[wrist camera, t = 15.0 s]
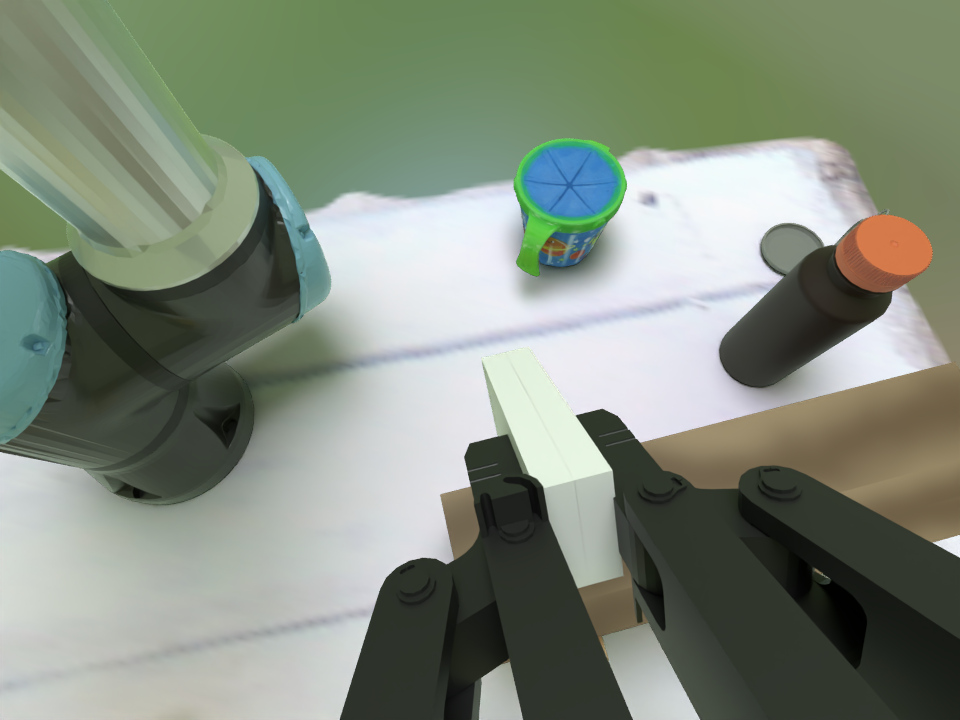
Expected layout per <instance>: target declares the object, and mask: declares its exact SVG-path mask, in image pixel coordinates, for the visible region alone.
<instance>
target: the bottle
mask: <svg viewBox="0 0 960 720" xmlns="http://www.w3.org/2000/svg"><path fill="white" fill-rule="evenodd" d="M932 252H933V251H932V248H931V245H930V242H929V240H928V238H927V237H926V235H925V234H924V233H923V232H922V230H920V229H919V228H918V227H917V226H916V225H914V224H913V223H911V222H909V221H907V220H905V219H903V218H899V217H896V216H892V215H882V214H881V215H878V216H876V215H875V216H872V217H869V218H867V219H864V220H863V221H862V222H861V223H860V224H858V225H857V226H856V227H855V228H854V229H853V230H852V231H851V232H850V233H849V234H847V235H846V236H845V237H844V238H843V239H842V240H841V241H840V243H839V244H838V245H830V246H826V247H822V248H818V249H816V250H814V251H813V252H811V253H810V254H808V255H806V256H805V257H804V258H803V259H802V260H801V261H800V262H799V263H798V264H797V265H796V266H795V267H794V268H793V269H792V270H791V271H790V272H789V273H788V274H787V275H786V276H785V277H784V278H783V279H782V280H780V281H779V282H778V283H777V284H776V285H775V286H774V287H773V288H772V289H771V290H770V291H769V292H768V293H767V294H766V295H765V296H764V297H763V298H762V299H761V300H760V301H759V302H758V303H757V304H756V305H755V306H754V307H753V308H752V309H751V310H750V311H749V312H748V313H747V314H746V315H745V316H744V317H743V318H742V319H741V320H740V321H739V322H738V323H737V324H736V325H735V326H734V327H733V328H731V329H730V330H729V331H728V332H727V334H726V335H725V337H724V338H723V339H722V342H721V346H720V357H721V361H722V363H723V365H724V367H725V369H726V370H727V371H728V372H729V373H730V375H731V376H732V377H734V378H735V379H737V380H738V381H740V382H741V383H744V384H747V385H750V386H758V387H764V386H768V385H772V384H775V383H776V382H778V381H780V380H781V379H783V378H784V377H786V376H787V375H789V374H791V373H792V372H794V371H795V370H797V369H799V368H800V367H802V366H803V365H805V364H806V363H808V362H810V361H811V360H813V359H814V358H816V357H818V356H819V355H821V354H822V353H824V352H825V351H827V350H829V349H830V348H832V347H833V346H835V345H837V344H838V343H840V342H841V341H843V340H844V339H846V338H848V337H849V336H851V335H852V334H854V333H856V332H857V331H859V330H860V329H862V328H863V327H865V326H867V325H868V324H870V323H871V322H873V321H874V320H876V319H877V318H879V317H880V316H881V315H883V314H884V313H885V311H886V310H887V308H888V306H889V305H890V303H891V299H892V291H894V290H896V289H898V288H899V287H901V286H902V285H904V284H905V283H907V282H909V281H910V280H912V279H913V278H915V277H916V276H918V275H919V274H921V273H922V272H923V271H925V270H926V269H927V267H929V265H930V263H931V260H932V259H931V258H932V255H933V254H932Z"/></svg>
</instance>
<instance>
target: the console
mask: <svg viewBox="0 0 960 720" xmlns="http://www.w3.org/2000/svg"><path fill="white" fill-rule="evenodd" d="M641 445H642V446H643V447H644V448H645V449H646V451H647V452H648V453H649V454H650V455H651V457H652V458H653V459H654V460H655V461H656V463H657V464H658V465H659V466H660V467H661V469H662V470H663V471H670V472H673V473H675V474H678V475H681V476H683V477H684V478H685V479H686V480H688V481H689V482H690V483H691V484H692V485H693V486H694V487H695V488H700V489H737V488H738V484H739V480H740V477H741V475H742V474H744V473H745V472H746V471H747V470H749V469H752V468H755V467H759V466H772V465H776V466H782V467H787V468H792V469H794V470H797V471H799V472H802V473H804V474H806V475H808V476H810V477H812V478H814V479H816V480H818V481H819V482H821V483H823V484H825V485H827V486H829V487H830V488H832V489H834V490H836V491H838V492H840V493H841V494H843V495H845V496H847V497H849V498H851V499H852V500H854V501H856V502H858V503H860V504H862V505H864V506H865V507H867V508H869V509H871V510H873V511H875V512H876V513H878V514H880V515H882V516H884V517H886V518H887V519H889V520H891V521H893V522H895V523H897V524H898V525H900V526H902V527H904V528H906V529H908V530H910V531H911V532H913V533H915V534H917V535H919V536H921V537H922V538H924V539H926V540H928V541H930V542H936V541H940V540H943V539H947V538H950V537H954V536H957V535H960V369H959V367H958V366H957V364H956V363H955V362H952V363H948V364H945V365H941V366H937V367H933V368H929V369H925V370H921V371H917V372H914V373H910V374H906V375H902V376H898V377H894V378H890V379H886V380H882V381H879V382H875V383H871V384H867V385H863V386H859V387H855V388H851V389H848V390H844V391H840V392H836V393H832V394H828V395H824V396H820V397H817V398H813V399H809V400H805V401H801V402H797V403H793V404H789V405H786V406H782V407H778V408H774V409H770V410H766V411H762V412H758V413H755V414H751V415H747V416H743V417H739V418H735V419H731V420H727V421H723V422H720V423H716V424H712V425H708V426H704V427H700V428H696V429H692V430H689V431H685V432H681V433H677V434H673V435H669V436H665V437H661V438H658V439H654V440H650V441H646V442H642V443H641ZM440 496H441V500H442V505H443V510H444V514H445V519H446V524H447V528H448V533H449V538H450V542H451V547H452V552H453V556H454V560H456V559H457V558H459V557H460V556H462V555H463V554H465V553H466V552H467V551H468V550H469V549H470V548H471V547H472V546H473V544H474V543H475V541H476V539H477V537H478V534H479V524H478V520H477V516H476V512H475V508H474V498H473V493H472V489H471V487H468V488H464V489H460V490H456V491H452V492H448V493H444V494H440ZM622 565H623V575H624V576H621V577H617V578H613V579H610V580H606V581H602V582H599V583H595V584H592V585H588V586H584V587H581V588H578V590H579V593H580V595H581V597H582V600H583V602H584V605H585V607H586V609H587V612H588V614H589V617H590V619H591V621H592V624H593V626H594V628H595V631H596V633H597V636H598V637H599V636H603V635H607V634H610V633H614V632H617V631H621V630H624V629H628V628H631V627H635V626H638V625H642V624H645V623H649V622H648V620H647V618H646V617H645V615H644V613H643V611H642V619H643V622H641V623H637V620H636V616H635V610H634V600H633V589H632V579H631V573H630V571H629V569H628V567H627V566H626V564H625V562H624V560H623V558H622ZM815 571H816V572H817V573H819V574H823V573H821V572H820V571H818V570H817V569H816V568H815ZM507 662H510V659H508V660H507V661H505V662H504V663H507ZM504 663H502V664H504Z"/></svg>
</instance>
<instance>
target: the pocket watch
mask: <svg viewBox="0 0 960 720" xmlns="http://www.w3.org/2000/svg"><path fill="white" fill-rule="evenodd" d="M885 211H886V214H885V215H888V214H889V209H884V210H883V211H881V212H880V213H878V214H877V215H876V216H878V215H881V214H882V213H884V212H885ZM865 219H867V218H865ZM863 220H864V219H862V220H860V221H859V222H857V223H856V224H855V225H853V226H852V227H851V228H850V229H849V230H848V231H847V232H846V233H845V234H844V235H843V236H842V237H841V238H840V239H839V241H838V242H837V243H836V244H835V245H838V244H839V243H840V241H841V240H842V239H843V238H844V237H845V236H846V235H847V234H849V233H850V232H851V231H852V230H853V229H854V228H855V227H856V226H857V225H858V224H860V223H861V222H862V221H863ZM822 247H824V244H823V242H822V240H821V239H820V238H819V237H818V236H817V235H816V234H815V233H814V232H813V231H811V230H810V229H808V228H807V227H805V226H802V225H799V224H795V223H782V224H778V225H776V226H774V227H772V228H770V229H769V230H768V231H767V232H766V233H765V235H764V237H763V239H762V243H761V248H762V254H763V256H764V258H765V259H766V261H767V262H768V263H769V265H770V266H772V267H773V268H774V269H775V270H777V271H779V272H781V273H783V274H786V275H787V274H788V273H789V272H790V271H791V270H792V269H793V268H794V267H795V266H796V265H797V264H798V263H799V262H800V261H801V260H802V259H803V258H804V257H805V256H806V255H808V254H810V253H811V252H813V251H814V250H816V249H818V248H822Z"/></svg>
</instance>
